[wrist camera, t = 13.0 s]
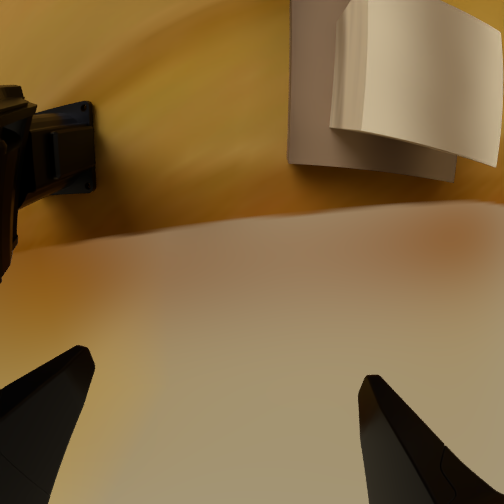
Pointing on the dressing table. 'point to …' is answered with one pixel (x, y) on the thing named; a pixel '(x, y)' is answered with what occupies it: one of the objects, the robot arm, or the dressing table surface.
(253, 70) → the dressing table surface
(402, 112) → the maple cube
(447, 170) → the walnut block
